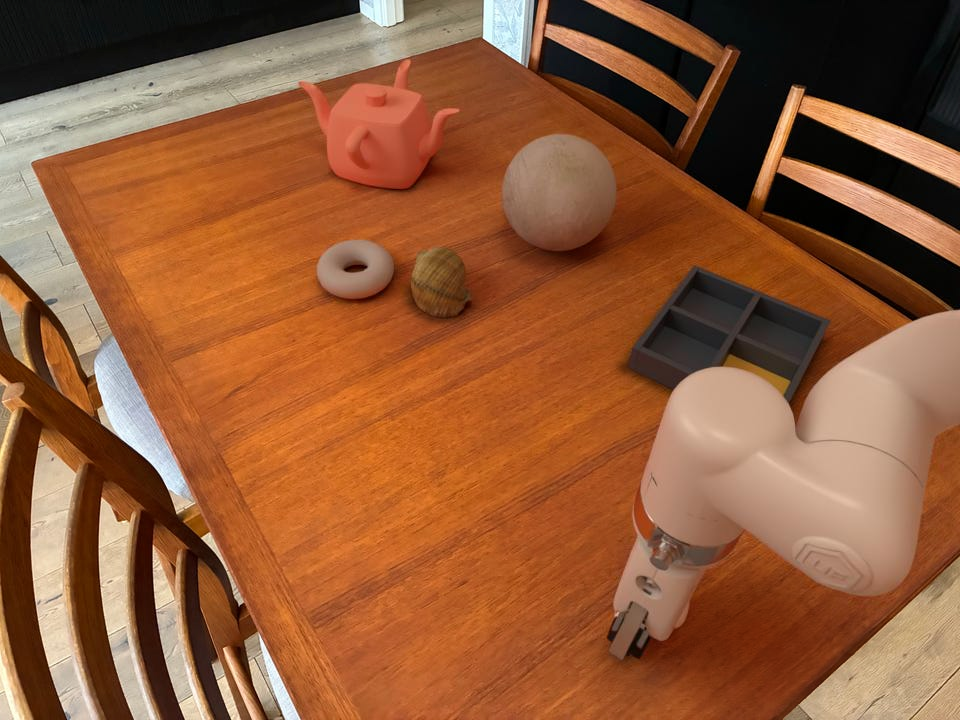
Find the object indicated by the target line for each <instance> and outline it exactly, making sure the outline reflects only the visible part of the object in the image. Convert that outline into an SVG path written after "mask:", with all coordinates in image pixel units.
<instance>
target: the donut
mask: <svg viewBox="0 0 960 720" xmlns="http://www.w3.org/2000/svg"><path fill="white" fill-rule="evenodd" d="M358 265H359V266H365V267H367V268H365V269H363V270H361V271H356V272H350V271H349V272H348V271H345V269H347V268H349V267H352V266H358ZM394 272H395V263H394V259H393V257H392V255H391V254H390V252H389V251H388V249H387V248H385V247H383V245H381V244H379V243H377V242H374V241H372V240H368V239H362V238H361V239H359V238H357V239H355V238H354V239H346V240H344V241H340V242H338V243H335V244H334V245H331V246H330V247H329V248H327V249H326V251H324V252H323V253H322V254H321V256H320V258H319V260H318V262H317V265H316V277H317V280H318V281H319V283H320V285H321V287H322V288H323V289H324V290H326V291H327V292H329V294H331V295H333V296H335V297H338V298H341V299H349V300H357V299H359V300H360V299H365V298H368V297H371V296H375V295H376V294H378V293H380V292H381V291H383V290H384V289H385V288H386V287H387V286H388V285H389V284H390V282H391V281H392V278H393V277H394V276H393V275H394V274H395V273H394Z"/></svg>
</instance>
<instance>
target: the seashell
mask: <svg viewBox="0 0 960 720" xmlns="http://www.w3.org/2000/svg"><path fill="white" fill-rule="evenodd" d="M465 265H466V264H465V263H464V260H462V258H461V257H460V255H458V253H457V252H456V251H454V250H452V249H450V248H448V247H445V246H435V247H433V248H430V249H427V250H423V251H418V252H417V255H416V261H415V262H414V268H413V270H412V273H411V276H410V289H411V292H412V293H411V294H412V298H413V301H414V303H415V305H416V306H417V307H418V309H420V310H421V311H422V312H423V313H425V314H428V315H430V316H433V317H435V318H442V319H443V318H444V319H445V318H453V317H457V316H458V315H459V314H460V312H461V311H462V310H463V309H464V308H465V305H466V304H467V302H468V303H473V299H472V293H471V291H470V290H469V289H467V286H466V278H467V270H466V266H465Z"/></svg>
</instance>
